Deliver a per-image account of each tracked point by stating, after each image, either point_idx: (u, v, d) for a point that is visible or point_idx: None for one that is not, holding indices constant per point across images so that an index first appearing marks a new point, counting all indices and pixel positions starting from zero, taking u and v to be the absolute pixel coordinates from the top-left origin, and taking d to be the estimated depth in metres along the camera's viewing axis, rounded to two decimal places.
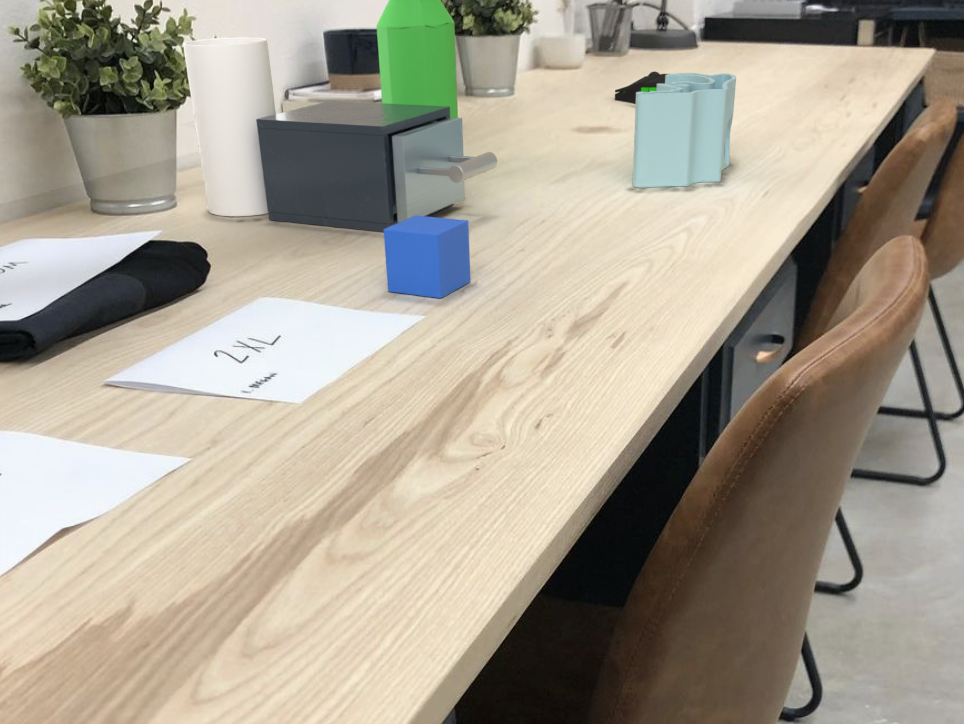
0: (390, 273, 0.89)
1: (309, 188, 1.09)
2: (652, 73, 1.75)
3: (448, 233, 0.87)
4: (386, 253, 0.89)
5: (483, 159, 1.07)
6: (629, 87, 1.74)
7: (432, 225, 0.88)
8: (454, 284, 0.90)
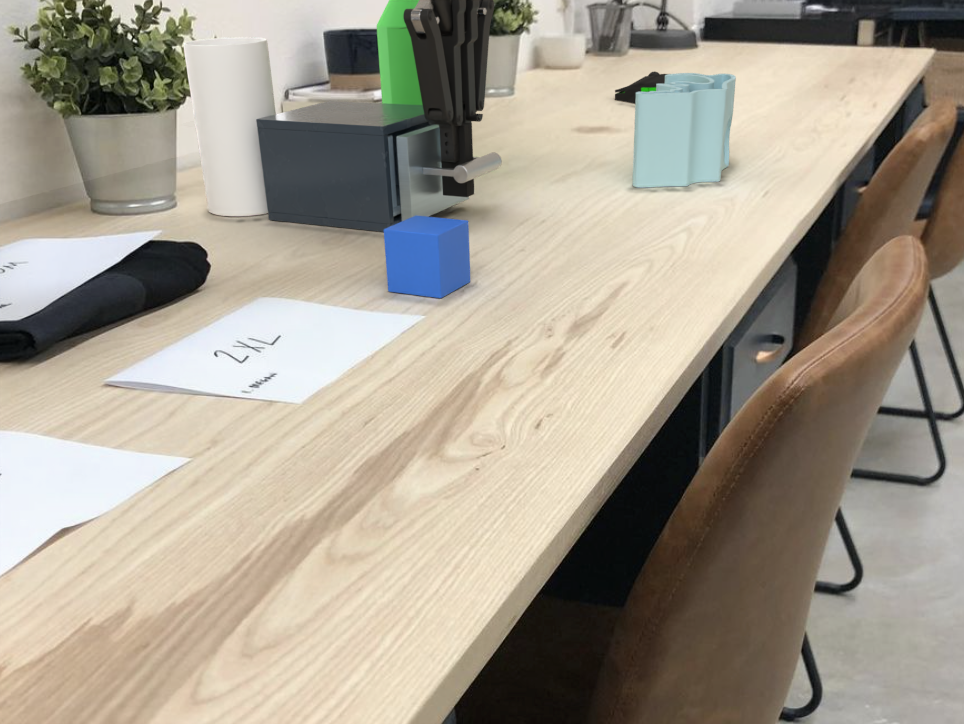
0: (390, 273, 0.89)
1: (309, 188, 1.09)
2: (652, 73, 1.75)
3: (448, 233, 0.87)
4: (386, 253, 0.89)
5: (488, 159, 1.07)
6: (629, 87, 1.74)
7: (432, 225, 0.88)
8: (454, 284, 0.90)
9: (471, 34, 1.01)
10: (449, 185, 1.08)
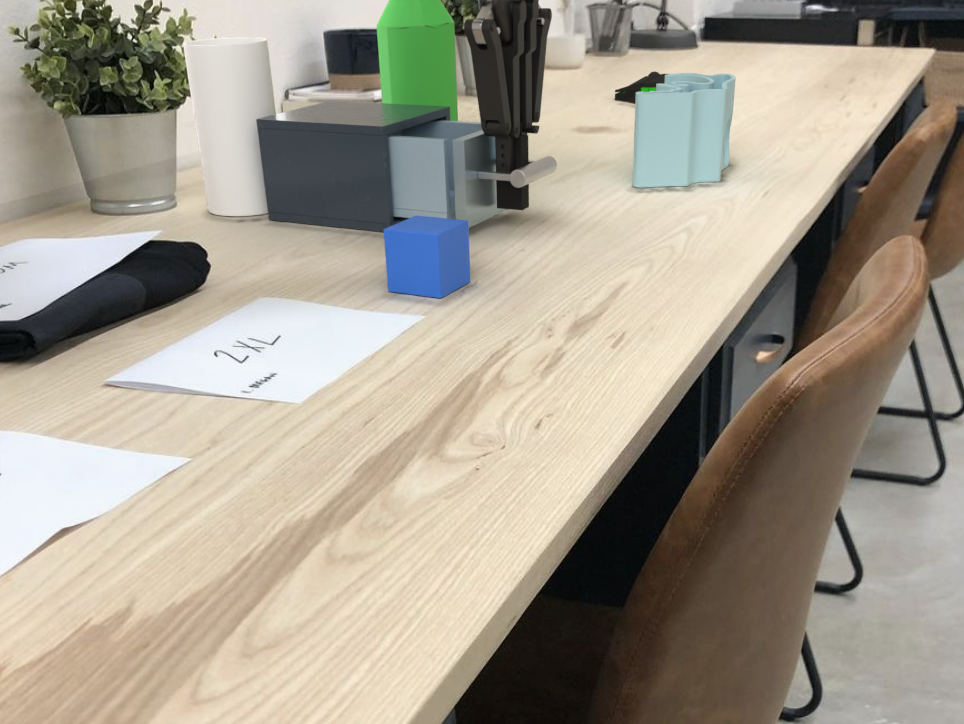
0: (390, 273, 0.89)
1: (309, 188, 1.09)
2: (652, 73, 1.75)
3: (448, 233, 0.87)
4: (386, 253, 0.89)
5: (544, 163, 1.04)
6: (629, 87, 1.74)
7: (432, 225, 0.88)
8: (454, 284, 0.90)
9: (530, 44, 0.99)
10: (504, 198, 1.06)
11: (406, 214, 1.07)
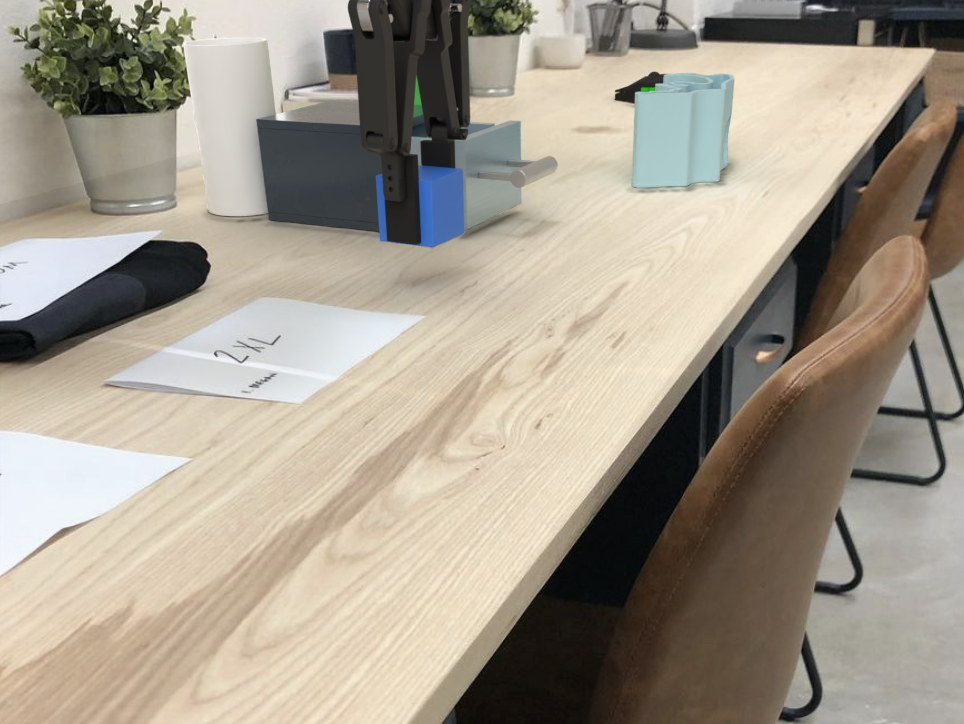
0: (382, 222, 0.87)
1: (309, 188, 1.09)
2: (652, 73, 1.75)
3: (442, 180, 0.85)
4: (378, 201, 0.86)
5: (545, 163, 1.04)
6: (629, 87, 1.74)
7: (425, 172, 0.86)
8: (447, 234, 0.87)
9: None
10: None
11: None
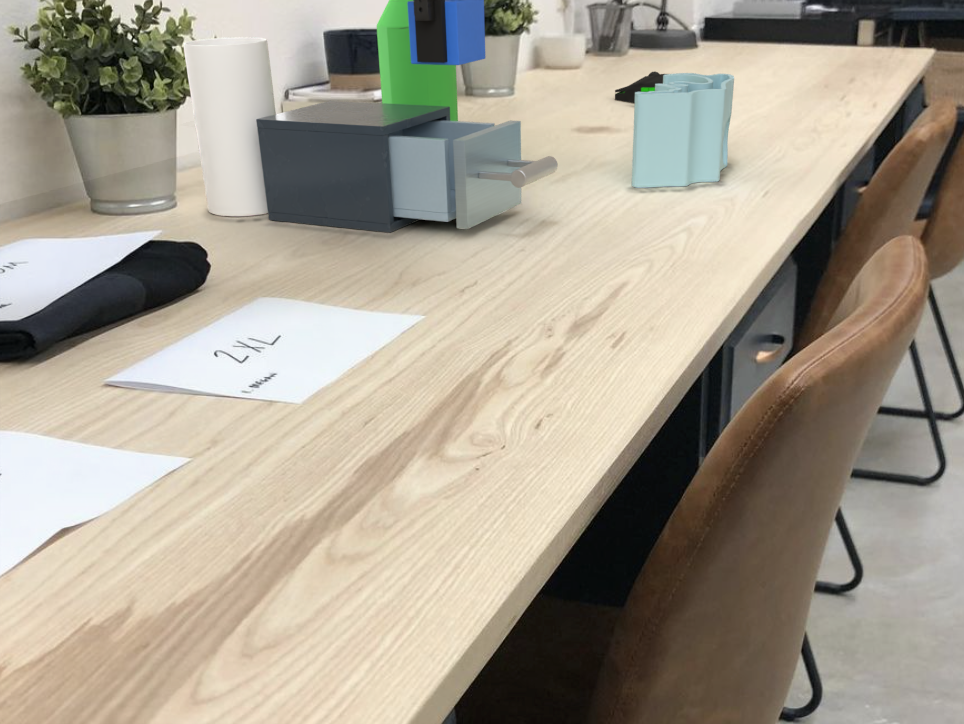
0: (413, 45, 0.99)
1: (309, 188, 1.09)
2: (652, 73, 1.75)
3: (465, 3, 0.97)
4: (409, 25, 0.98)
5: (545, 163, 1.04)
6: (629, 87, 1.74)
7: None
8: (471, 56, 0.99)
9: None
10: None
11: (407, 214, 1.07)
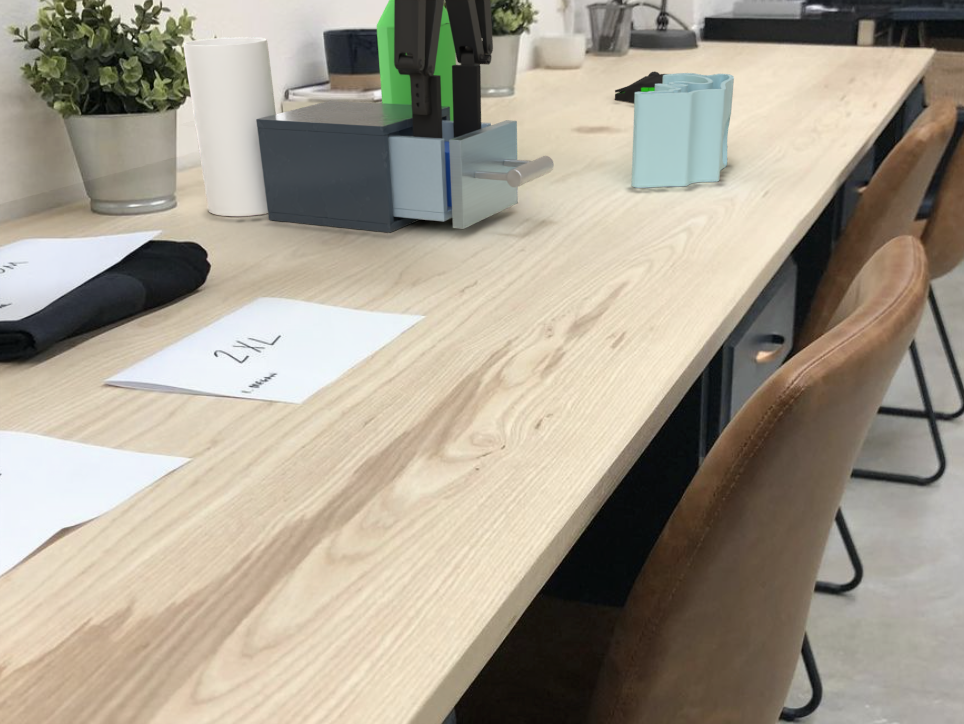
0: None
1: (309, 188, 1.09)
2: (652, 73, 1.75)
3: None
4: None
5: (541, 163, 1.04)
6: (629, 87, 1.74)
7: None
8: None
9: None
10: None
11: (403, 214, 1.07)
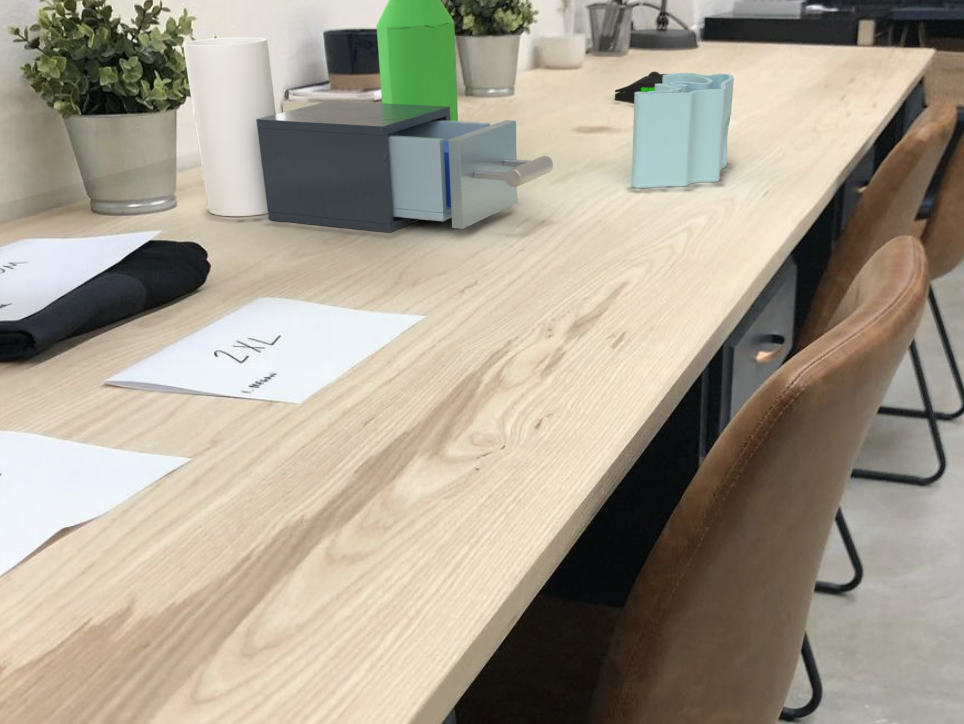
0: None
1: (309, 188, 1.09)
2: (652, 73, 1.75)
3: None
4: None
5: (540, 163, 1.04)
6: (629, 87, 1.74)
7: None
8: None
9: None
10: None
11: (402, 214, 1.07)
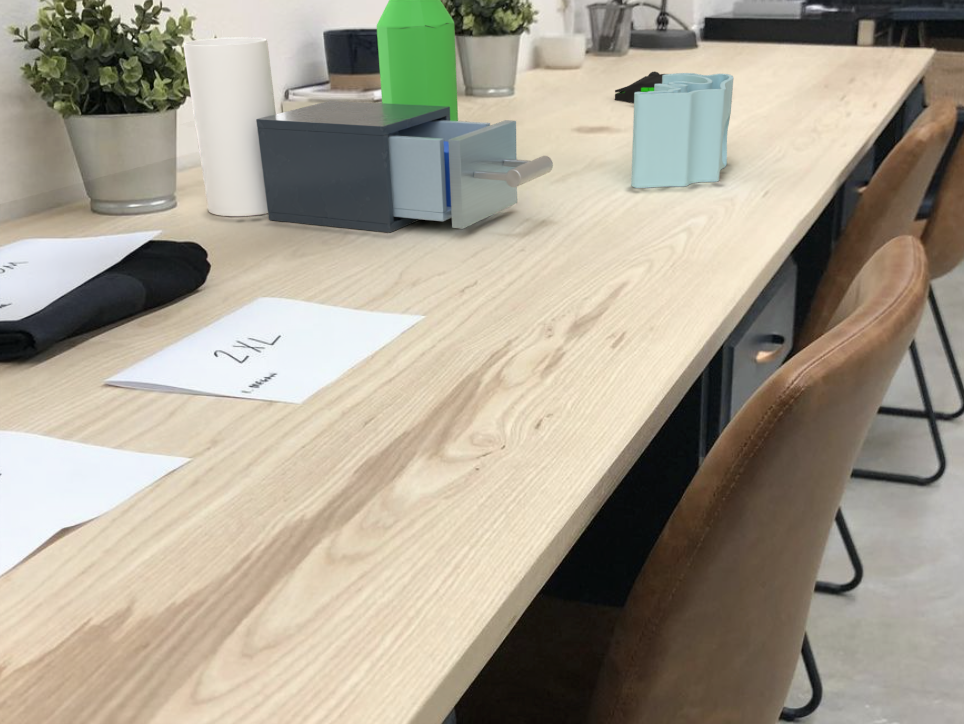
0: None
1: (309, 188, 1.09)
2: (652, 73, 1.75)
3: None
4: None
5: (540, 163, 1.04)
6: (629, 87, 1.74)
7: None
8: None
9: None
10: None
11: (402, 214, 1.07)
